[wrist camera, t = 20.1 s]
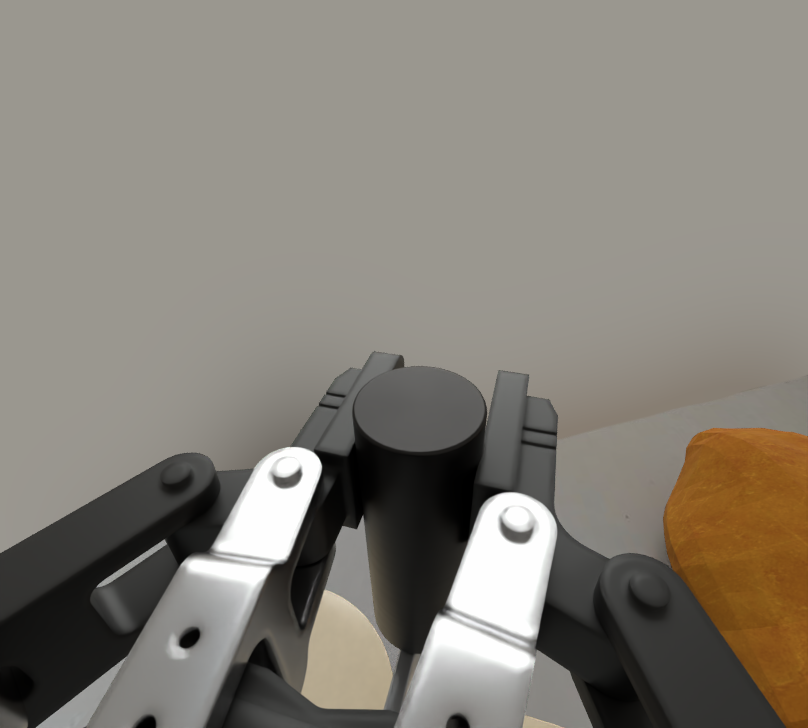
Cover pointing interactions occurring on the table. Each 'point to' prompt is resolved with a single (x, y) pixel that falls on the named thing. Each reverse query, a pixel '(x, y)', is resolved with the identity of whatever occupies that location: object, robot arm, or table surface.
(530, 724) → the cake slice
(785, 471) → the bread
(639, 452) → the table surface
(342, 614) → the cake
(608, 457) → the table surface
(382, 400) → the knife
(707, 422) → the table surface
